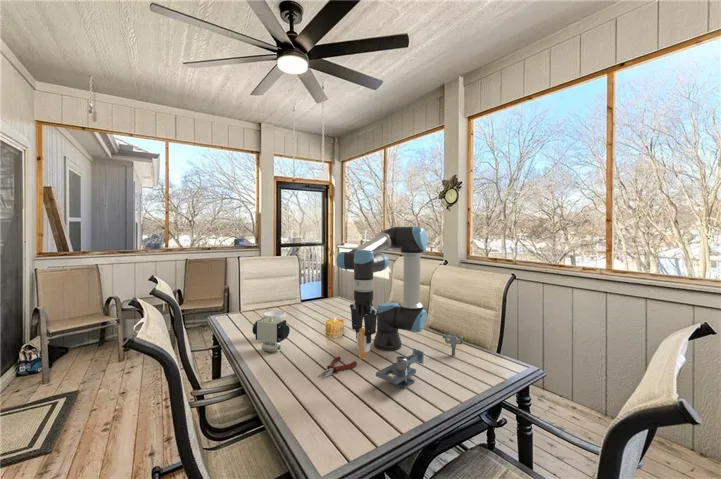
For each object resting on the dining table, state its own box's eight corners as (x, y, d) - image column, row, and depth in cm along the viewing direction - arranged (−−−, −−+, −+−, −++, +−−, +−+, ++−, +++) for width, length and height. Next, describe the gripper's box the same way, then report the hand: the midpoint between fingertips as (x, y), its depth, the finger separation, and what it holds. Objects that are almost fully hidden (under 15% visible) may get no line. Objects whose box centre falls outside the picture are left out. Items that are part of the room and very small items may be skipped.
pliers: (310, 376, 134) (310, 370, 134) (338, 360, 151) (338, 355, 151) (331, 383, 128) (331, 377, 128) (358, 366, 145) (358, 360, 145)
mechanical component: (464, 357, 154) (464, 337, 154) (443, 355, 156) (443, 335, 156) (463, 355, 157) (463, 335, 157) (442, 353, 159) (442, 334, 159)
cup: (258, 341, 174) (258, 314, 174) (272, 334, 186) (272, 309, 185) (276, 344, 170) (276, 317, 169) (290, 337, 181) (290, 311, 181)
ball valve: (291, 350, 162) (291, 316, 161) (282, 356, 154) (282, 321, 153) (262, 346, 168) (262, 313, 167) (252, 351, 160) (251, 317, 159)
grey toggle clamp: (375, 387, 124) (375, 362, 124) (409, 369, 141) (409, 347, 140) (395, 396, 117) (396, 370, 117) (428, 376, 134) (428, 353, 134)
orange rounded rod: (357, 357, 121) (357, 329, 121) (363, 354, 123) (363, 327, 123) (363, 359, 119) (363, 331, 118) (369, 357, 121) (369, 329, 121)
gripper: (342, 288, 123) (342, 346, 124) (372, 294, 112) (372, 358, 113) (355, 285, 128) (355, 342, 129) (385, 291, 117) (385, 352, 118)
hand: (363, 349), depth 121 cm, fingers closed on orange rounded rod, 3 cm apart
